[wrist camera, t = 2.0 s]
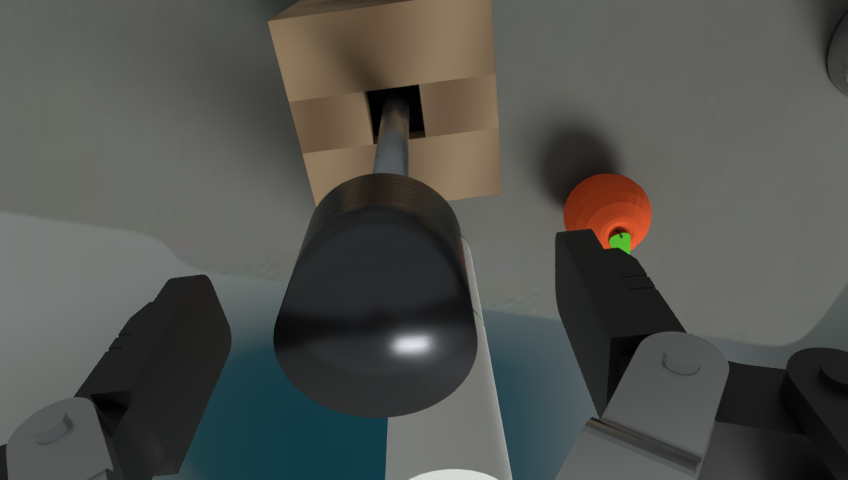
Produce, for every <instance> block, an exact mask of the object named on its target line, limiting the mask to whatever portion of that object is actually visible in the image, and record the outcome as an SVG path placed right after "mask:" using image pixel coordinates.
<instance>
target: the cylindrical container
mask: <svg viewBox="0 0 848 480" xmlns="http://www.w3.org/2000/svg"><path fill="white" fill-rule="evenodd" d="M461 238H462V237H461ZM462 245H463V251H464V257H465V263H466V269H467V275H468V281H469V288H470V294H471V300H472V306H473V312H474V318H475V324H476V331H477V338H478V348H477V354H476V358H475V361H474V364H473V367H472V369H471V371H470V373H469V375H468V376H467V377H466V379H465V380H464V382H463V383H462V384H461V385H460V386H459V387H458V388H457V389H456V390H455V391H454V392H453V393H452V394H450V395H449V396H448V397H447V398H445V399H444V400H442V401H440V402H439V403H437V404H435V405H433V406H431V407H429V408H427V409H424V410H421V411H418V412H416V413H412V414H408V415H403V416H397V417H388V434H387V455H386V477H385V480H512V475H511V469H510V464H509V458H508V453H507V447H506V442H505V437H504V432H503V426H502V420H501V415H500V409H499V404H498V398H497V393H496V387H495V382H494V376H493V371H492V366H491V360H490V354H489V349H488V344H487V338H486V333H485V327H484V322H483V316H482V311H481V306H480V300H479V295H478V289H477V284H476V279H475V273H474V268H473V262H472V257H471V252H470V248H469V246H468V244H467V242H466V241H465V240H464V238H462Z"/></svg>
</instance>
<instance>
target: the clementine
mask: <svg viewBox="0 0 848 480" xmlns="http://www.w3.org/2000/svg"><path fill="white" fill-rule="evenodd" d="M564 224H565V227H566V230H567V231H573V230H581V229H592V230H593V231H594V233H595V235H596V236H597V238H598V240H599V241H600V243H601V245H602V246H603V248H604V249H609V248H617V247H618V248H620V249H622V250H623V251H625V252H626V253H628V254H629V253H630V250H631V249H633V248H634V247H636V246H637V245H638V244H639V243H640V242H641V241H642V240H643V238H644V237H645V235H646V234H647V232H648V230H649V227H650V224H651V205H650V202H649V199H648V197H647V195H646V194H645V192H644V191H643V189H642V188H641V187H640V186H639V185H638V184H636V183H635V182H634V181H632V180H631V179H629V178H628V177H625V176H622V175H619V174H605V173H604V174H598V175H594V176H592V177H589V178H587V179H585V180H584V181H582V182H581V183H579V184H578V185H577V186H576V187H575V188H574V189H573V190H572V191H571V193H570V195H569V197H568V199H567V201H566V204H565V208H564Z"/></svg>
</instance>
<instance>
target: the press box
mask: <svg viewBox="0 0 848 480" xmlns="http://www.w3.org/2000/svg"><path fill="white" fill-rule="evenodd" d="M268 25H269V29H270V32H271V36H272V40H273V44H274V48H275V52H276V55H277V59H278V63H279V67H280V71H281V74H282V78H283V82H284V86H285V90H286V93H287V97H288V101H289V105H290V109H291V113H292V116H293V120H294V124H295V128H296V132H297V135H298V139H299V143H300V147H301V151H302V154H303V158H304V162H305V166H306V170H307V174H308V177H309V181H310V185H311V189H312V193H313V196H314V200H315V204H316V207H317V206H318V204H319V203H320V201H321V200H322V199H323V198H324V197H325V196H326V195H327V194H328V193H329V192H330V191H331V190H332V189H334V188H335V187H337V186H338V185H340V184H341V183H343V182H345V181H348V180H350V179H352V178H355V177H358V176H362V175H367V174H373V168H374V161H375V155H376V149H377V142H378V136H379V134H377V135H374V130H373V124H372V119H371V113H370V108H369V103H368V97H367V92H366V91H373V90H381V89H388V88H395V87H403V86H410V85H417V84H419V89H420V97H421V104H422V112H423V119H424V127H425V128H422V129H414V130H409V177H410V178H414V179H416V180H418V181H420V182H423V183H424V184H426V185H428V186H429V187H431V188H432V189H434V190H435V191H436V192H437V193H439V194H440V195H441V196H442V197H443V198H444V199H445V200H446V201H449V200H457V199H465V198H473V197H481V196H489V195H497V194H503V193H502V176H501V158H500V141H499V124H498V107H497V90H496V73H495V55H494V38H493V21H492V4H491V0H299V1H298V2H296V3H295V4H293V5H292V6H290V7H289V8H287V9H286V10H284V11H282V12H281V13H279V14H278V15H276V16H275V17H273V18H272V19H270V20H269V21H268Z"/></svg>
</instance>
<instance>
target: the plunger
mask: <svg viewBox="0 0 848 480" xmlns="http://www.w3.org/2000/svg"><path fill="white" fill-rule="evenodd" d="M366 92H367V97H368V103H369V108H370V113H371V119H372V124H373V130H374V135H377V134H379V136H378V142H377V149H376V155H375V161H374V168H373V174H367V175H362V176H358V177H355V178H352V179H350V180H348V181H345V182H343V183H341V184H340V185H338V186H337V187H335V188H334V189H332V190H331V191H330V192H329V193H328V194H327V195H326V196H325V197H324V198H323V199H322V200H321V201H320V203H319V204H318V206H317V207H316V209H315V211H314V213H313V215H312V218H311V220H310V223H309V226H308V229H307V232H306V235H305V238H304V241H303V244H302V246H301V249H300V252H299V255H298V258H297V261H296V264H295V267H294V270H293V273H292V276H291V279H290V281H289V284H288V287H287V290H286V293H285V296H284V299H283V302H282V305H281V308H280V311H279V314H278V316H277V320H276V323H275V327H274V337H273V340H274V350H275V353H276V357H277V360H278V362H279V364H280V367H281V369H282V370H283V372H284V373H285V375H286V376H287V378H288V379H289V380H290V381H291V382H292V384H293V385H294V386H295V387H296V388H297V389H298V390H300V391H301V392H302V393H303V394H304V395H306V396H307V397H309V398H310V399H312V400H314V401H315V402H317V403H319V404H321V405H323V406H325V407H327V408H330V409H332V410H335V411H338V412H341V413H345V414H349V415H354V416H360V417H368V418H386V417H397V416H403V415H408V414H412V413H416V412H418V411H421V410H424V409H427V408H429V407H431V406H433V405H435V404H437V403H439V402H440V401H442V400H444V399H445V398H447V397H448V396H449V395H450V394H452V393H453V392H454V391H455V390H456V389H457V388H458V387H459V386H460V385H461V384H462V383H463V382H464V380H465V379H466V377H467V376H468V375H469V373H470V371H471V369H472V367H473V364H474V361H475V358H476V354H477V348H478V338H477V331H476V324H475V318H474V312H473V306H472V300H471V294H470V288H469V281H468V275H467V269H466V263H465V257H464V251H463V245H462V238H461V233H460V227H459V224H458V221H457V218H456V216H455V214H454V212H453V210H452V208H451V207H450V206H449V204H448V203H447V201H446V200H445V199H444V198H443V197H442V196H441V195H440V194H439V193H437V192H436V191H435V190H434V189H432V188H431V187H429V186H428V185H426V184H424V183H423V182H420V181H418V180H416V179H414V178H410V177H409V130H414V129H422V128H425V127H424V119H423V112H422V104H421V97H420V89H419V84H417V85H410V86H403V87H395V88H388V89H381V90H373V91H366Z"/></svg>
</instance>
